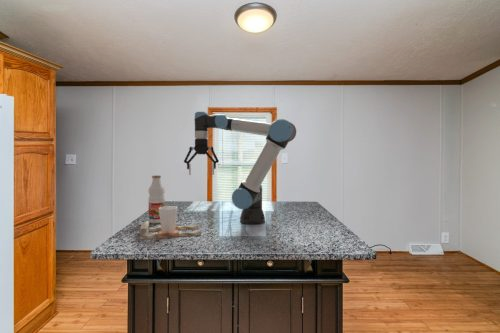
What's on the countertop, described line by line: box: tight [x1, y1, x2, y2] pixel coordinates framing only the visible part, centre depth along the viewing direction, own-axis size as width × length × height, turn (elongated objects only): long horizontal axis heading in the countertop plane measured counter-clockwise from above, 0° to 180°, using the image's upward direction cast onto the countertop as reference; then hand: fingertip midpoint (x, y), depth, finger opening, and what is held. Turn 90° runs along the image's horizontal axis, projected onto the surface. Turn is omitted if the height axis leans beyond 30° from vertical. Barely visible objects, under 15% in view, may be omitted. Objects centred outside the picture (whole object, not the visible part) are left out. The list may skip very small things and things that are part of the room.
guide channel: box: [139, 221, 202, 240], centre depth 152 cm, size 29×15×5 cm, turn 105°
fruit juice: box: [148, 175, 166, 224], centre depth 178 cm, size 9×9×28 cm
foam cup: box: [159, 205, 179, 233], centre depth 152 cm, size 10×9×13 cm
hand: (201, 174), depth 174 cm, fingers open, 13 cm apart
